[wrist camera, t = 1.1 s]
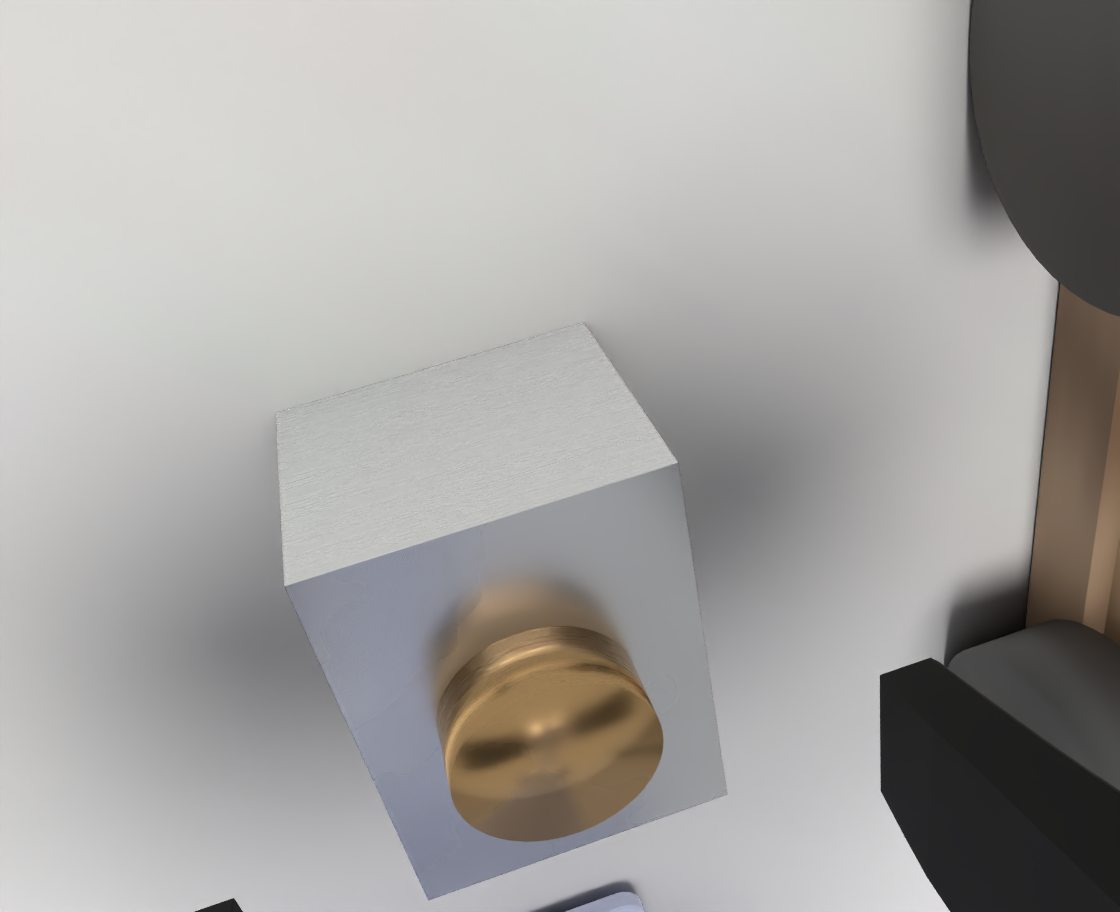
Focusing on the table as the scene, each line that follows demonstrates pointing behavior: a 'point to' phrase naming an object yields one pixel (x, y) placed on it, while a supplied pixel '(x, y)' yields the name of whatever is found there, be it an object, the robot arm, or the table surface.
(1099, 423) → the chassis
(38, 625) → the table surface
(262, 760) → the table surface
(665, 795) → the engine block
